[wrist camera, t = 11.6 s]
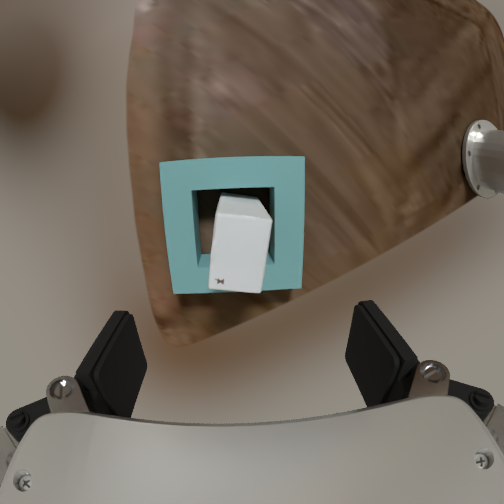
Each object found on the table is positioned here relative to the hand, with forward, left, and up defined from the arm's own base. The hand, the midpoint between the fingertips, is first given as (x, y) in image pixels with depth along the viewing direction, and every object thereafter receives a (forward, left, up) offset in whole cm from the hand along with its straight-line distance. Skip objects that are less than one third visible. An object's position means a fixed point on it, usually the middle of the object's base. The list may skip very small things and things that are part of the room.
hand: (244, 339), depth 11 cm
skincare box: (0, 0, -22) cm, 22 cm away
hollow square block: (0, 0, -22) cm, 22 cm away
